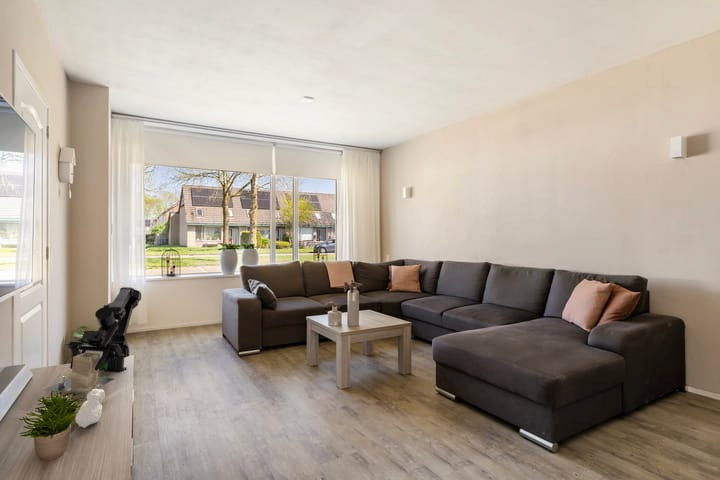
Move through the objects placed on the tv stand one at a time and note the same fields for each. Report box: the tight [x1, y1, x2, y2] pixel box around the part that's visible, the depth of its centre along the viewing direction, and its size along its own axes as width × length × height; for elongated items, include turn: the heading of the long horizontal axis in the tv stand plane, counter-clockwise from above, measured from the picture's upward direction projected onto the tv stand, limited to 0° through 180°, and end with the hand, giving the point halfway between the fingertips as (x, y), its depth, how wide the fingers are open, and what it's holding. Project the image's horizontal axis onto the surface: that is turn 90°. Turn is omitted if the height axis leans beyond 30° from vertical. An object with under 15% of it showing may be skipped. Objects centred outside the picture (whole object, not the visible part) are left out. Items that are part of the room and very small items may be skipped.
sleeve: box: [70, 352, 101, 391], centre depth 149 cm, size 6×6×12 cm
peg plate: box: [43, 375, 116, 395], centre depth 153 cm, size 17×16×6 cm
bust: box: [75, 388, 106, 429], centre depth 126 cm, size 12×8×11 cm
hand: (83, 369), depth 148 cm, fingers open, 9 cm apart
